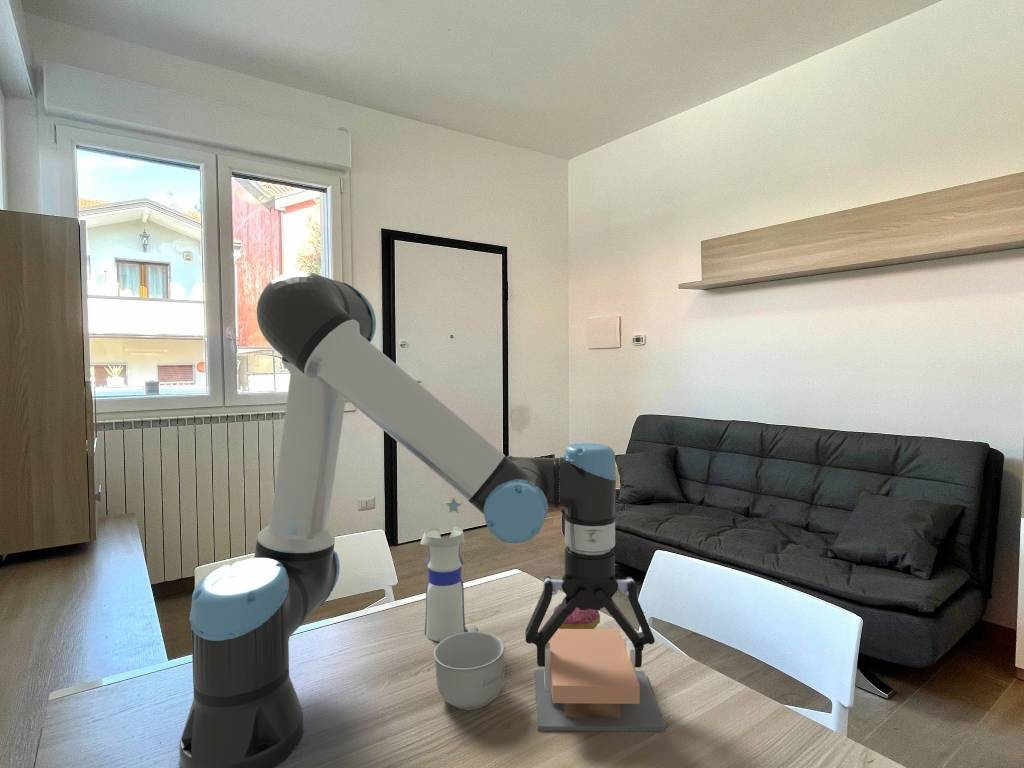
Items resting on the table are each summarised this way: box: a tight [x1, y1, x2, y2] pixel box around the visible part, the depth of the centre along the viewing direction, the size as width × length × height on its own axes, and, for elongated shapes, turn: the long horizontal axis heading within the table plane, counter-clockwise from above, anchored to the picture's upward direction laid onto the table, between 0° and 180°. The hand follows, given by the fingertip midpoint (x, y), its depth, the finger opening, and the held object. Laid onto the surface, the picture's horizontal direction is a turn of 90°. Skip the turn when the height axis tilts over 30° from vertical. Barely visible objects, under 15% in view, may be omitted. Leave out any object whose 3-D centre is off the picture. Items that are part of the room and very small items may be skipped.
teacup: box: [432, 625, 506, 711], centre depth 87 cm, size 14×11×8 cm
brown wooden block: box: [563, 703, 621, 718], centre depth 85 cm, size 8×10×4 cm
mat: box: [534, 669, 667, 732], centre depth 85 cm, size 18×14×1 cm
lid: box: [549, 628, 640, 704], centre depth 85 cm, size 12×16×2 cm
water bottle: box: [420, 496, 467, 643], centre depth 106 cm, size 8×9×25 cm
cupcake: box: [552, 603, 601, 629], centre depth 103 cm, size 9×8×12 cm
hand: (588, 686), depth 85 cm, fingers closed on lid, 12 cm apart
